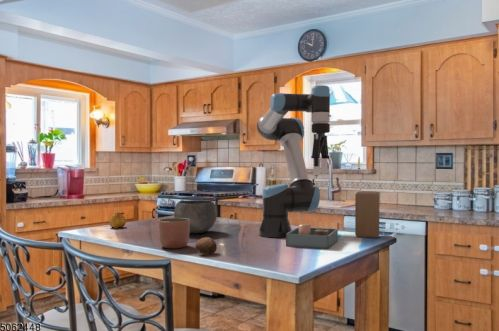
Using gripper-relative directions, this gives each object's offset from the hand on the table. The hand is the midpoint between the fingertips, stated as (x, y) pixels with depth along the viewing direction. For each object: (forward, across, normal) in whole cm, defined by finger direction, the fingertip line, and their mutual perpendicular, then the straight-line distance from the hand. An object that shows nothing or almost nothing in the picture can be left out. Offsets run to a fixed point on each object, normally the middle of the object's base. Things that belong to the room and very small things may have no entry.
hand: (320, 174), depth 185 cm
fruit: (+29, +5, +108) cm, 112 cm away
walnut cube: (+28, -2, -1) cm, 28 cm away
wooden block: (+29, +24, -16) cm, 41 cm away
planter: (+29, -29, +53) cm, 67 cm away
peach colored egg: (+28, -2, +6) cm, 29 cm away
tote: (+29, -2, +3) cm, 29 cm away
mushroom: (+29, -36, +35) cm, 58 cm away
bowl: (+29, +5, +62) cm, 69 cm away
